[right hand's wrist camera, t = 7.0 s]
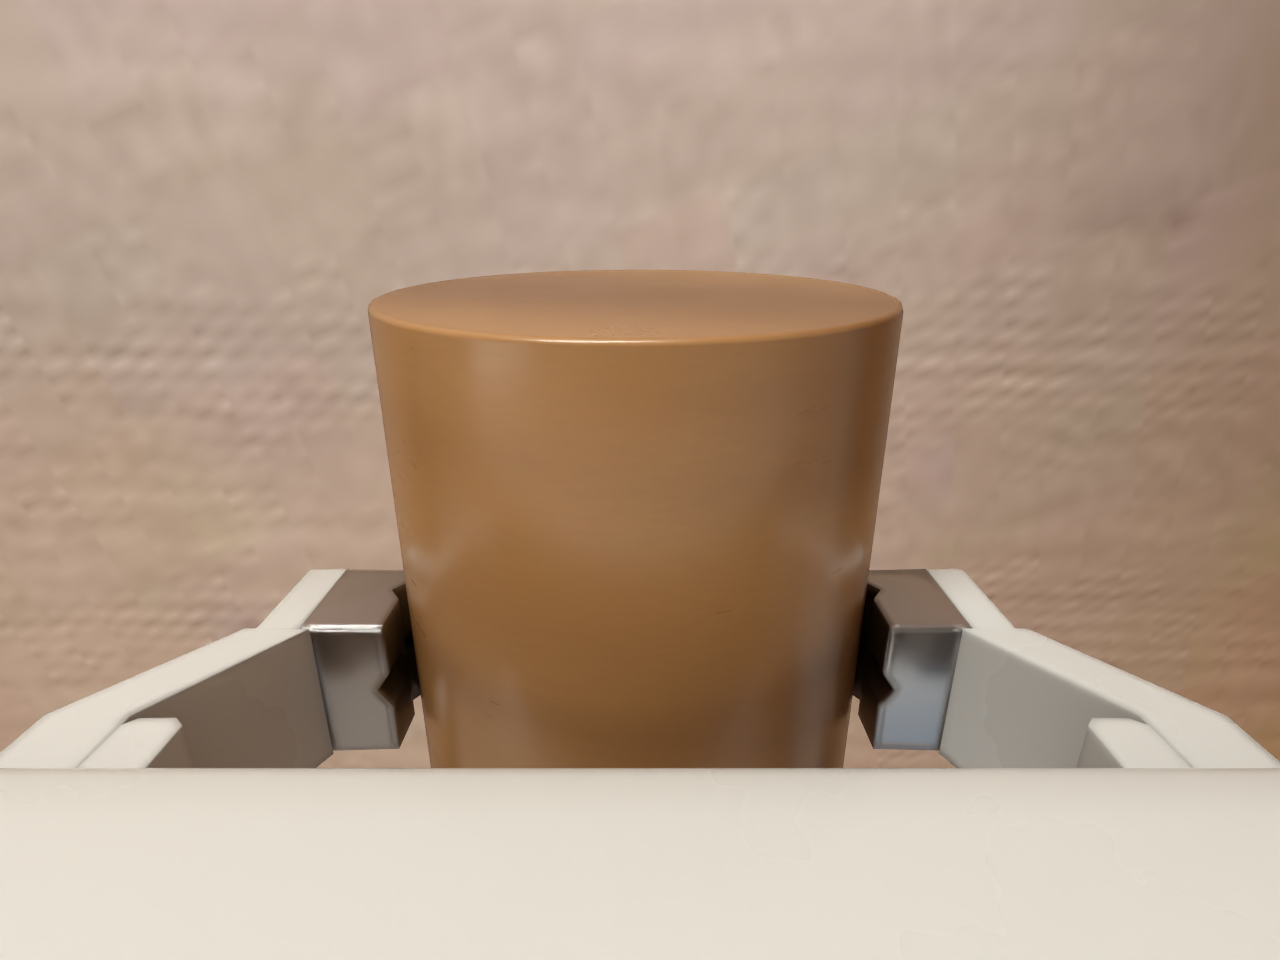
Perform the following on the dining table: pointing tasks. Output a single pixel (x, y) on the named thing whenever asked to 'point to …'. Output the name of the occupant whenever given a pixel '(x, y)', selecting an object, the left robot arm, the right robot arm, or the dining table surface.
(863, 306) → the cylinder
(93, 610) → the dining table surface
